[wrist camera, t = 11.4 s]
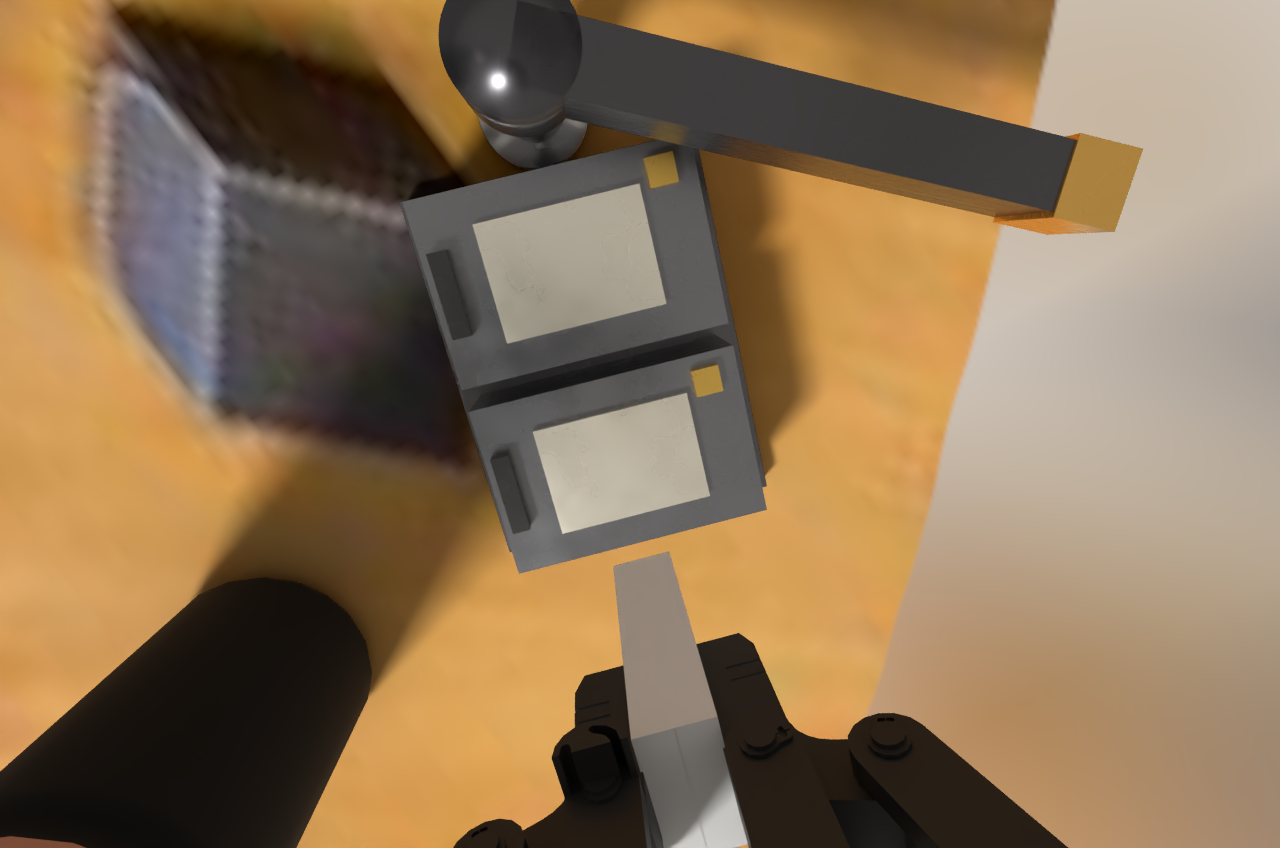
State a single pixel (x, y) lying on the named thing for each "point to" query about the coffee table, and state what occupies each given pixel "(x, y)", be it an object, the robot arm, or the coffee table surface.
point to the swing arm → (773, 116)
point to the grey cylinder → (538, 145)
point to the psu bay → (593, 349)
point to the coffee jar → (200, 731)
